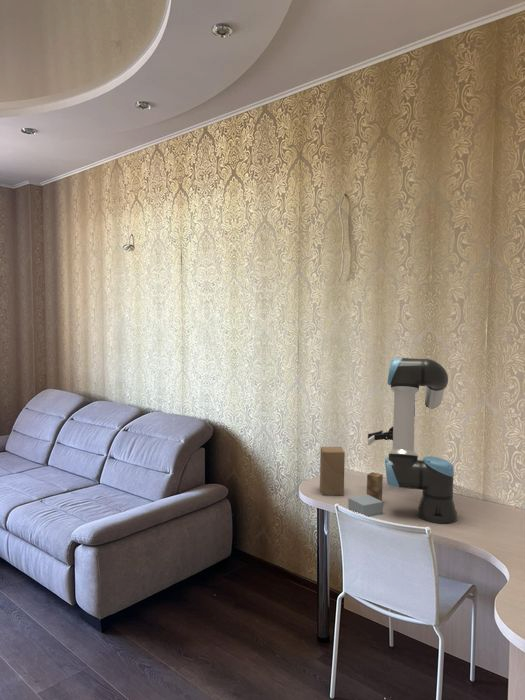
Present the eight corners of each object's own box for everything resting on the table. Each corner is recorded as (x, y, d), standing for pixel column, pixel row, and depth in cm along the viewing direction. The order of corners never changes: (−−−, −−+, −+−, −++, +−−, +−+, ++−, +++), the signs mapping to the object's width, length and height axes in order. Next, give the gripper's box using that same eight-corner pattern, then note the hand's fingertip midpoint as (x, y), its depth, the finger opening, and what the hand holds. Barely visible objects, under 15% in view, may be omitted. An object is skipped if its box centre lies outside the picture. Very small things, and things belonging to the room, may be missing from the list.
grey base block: (382, 513, 208) (382, 501, 207) (363, 517, 203) (363, 505, 203) (367, 506, 217) (367, 494, 216) (348, 509, 212) (348, 497, 212)
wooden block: (344, 495, 228) (344, 452, 228) (321, 495, 229) (322, 451, 228) (341, 488, 238) (341, 446, 238) (319, 488, 239) (320, 446, 238)
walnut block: (382, 501, 222) (382, 474, 221) (377, 504, 218) (378, 476, 217) (371, 498, 225) (372, 472, 224) (366, 502, 221) (367, 474, 220)
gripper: (424, 444, 237) (410, 457, 220) (373, 435, 251) (356, 448, 233) (424, 428, 236) (411, 441, 219) (373, 421, 250) (356, 432, 232)
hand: (383, 444), depth 226 cm, fingers open, 13 cm apart
